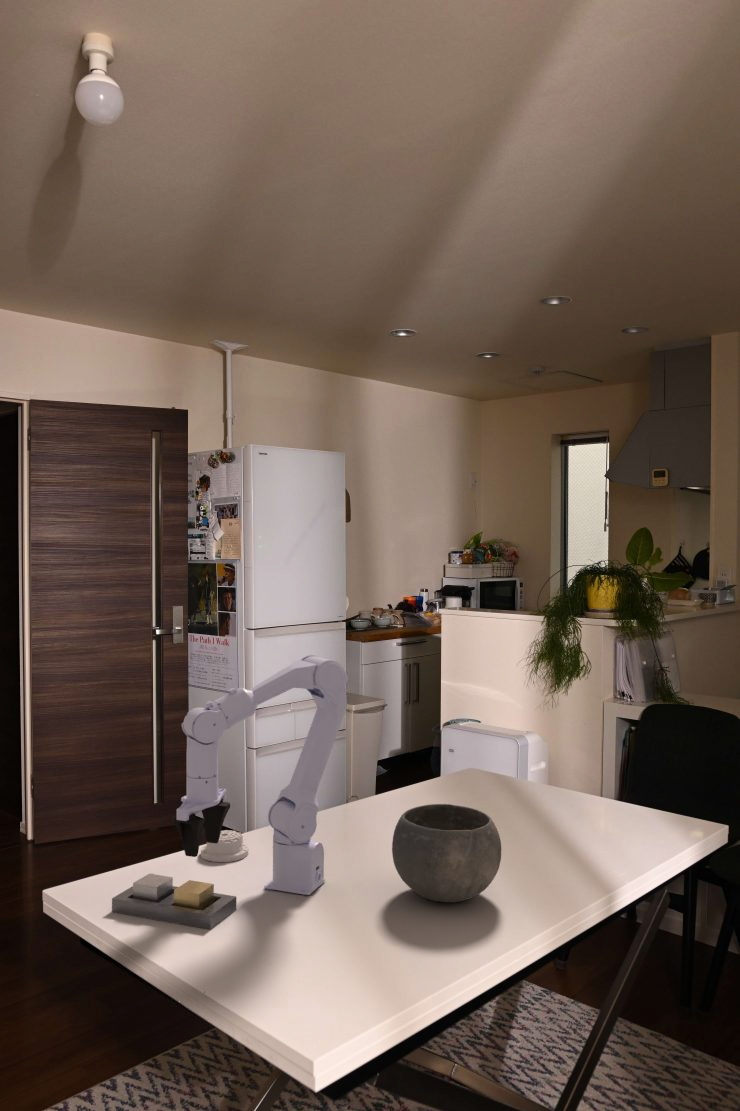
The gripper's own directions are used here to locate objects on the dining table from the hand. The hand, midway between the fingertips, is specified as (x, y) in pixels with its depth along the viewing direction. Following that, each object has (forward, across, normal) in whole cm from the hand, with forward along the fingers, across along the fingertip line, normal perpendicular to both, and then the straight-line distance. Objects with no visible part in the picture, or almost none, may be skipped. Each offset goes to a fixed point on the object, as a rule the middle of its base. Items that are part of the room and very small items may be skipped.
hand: (202, 849), depth 165 cm
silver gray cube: (+10, +5, -7) cm, 13 cm away
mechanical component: (+10, -24, -9) cm, 28 cm away
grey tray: (+10, +5, -3) cm, 11 cm away
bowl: (+10, -19, +41) cm, 46 cm away
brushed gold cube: (+10, +5, +1) cm, 11 cm away
